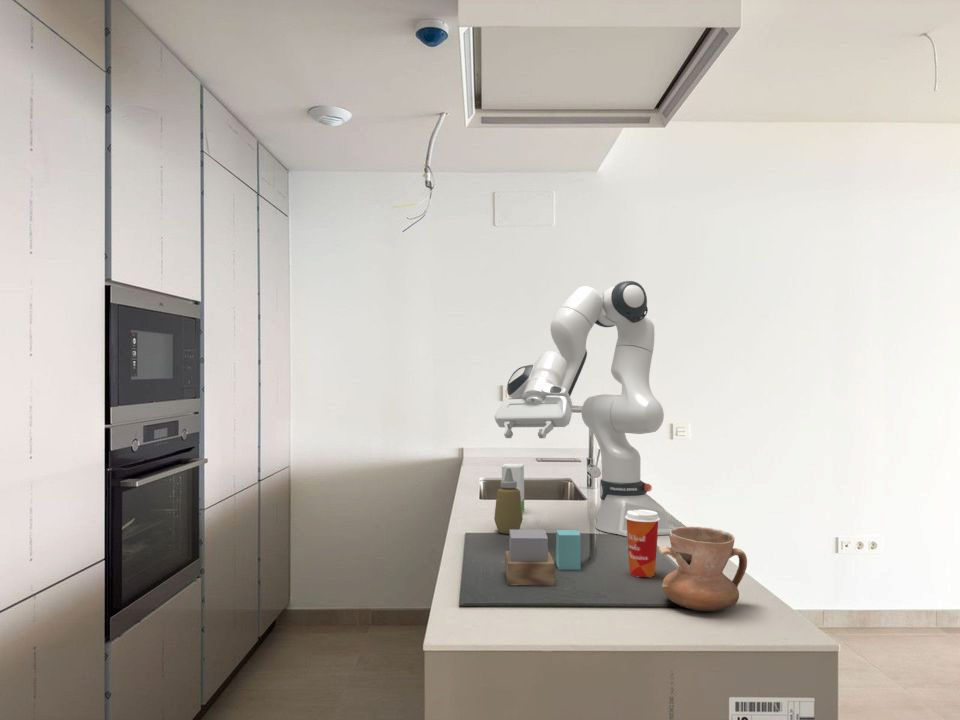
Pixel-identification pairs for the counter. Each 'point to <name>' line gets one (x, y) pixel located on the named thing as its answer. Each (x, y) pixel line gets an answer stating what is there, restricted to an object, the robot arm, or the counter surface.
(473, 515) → the counter surface
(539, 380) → the robot arm
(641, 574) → the paper cup
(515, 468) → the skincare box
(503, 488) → the squeeze bottle
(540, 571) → the walnut base block
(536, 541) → the grey top block
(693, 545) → the ceramic jug
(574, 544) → the teal block
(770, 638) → the counter surface
